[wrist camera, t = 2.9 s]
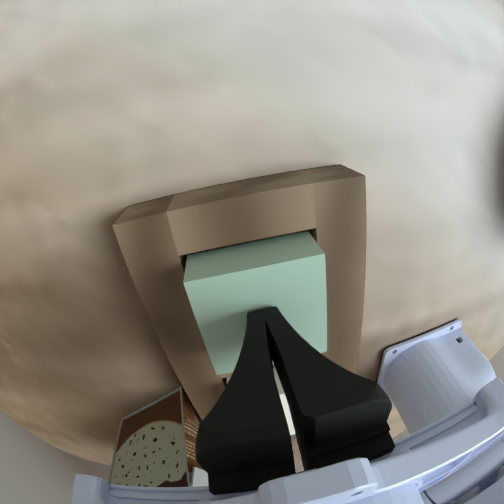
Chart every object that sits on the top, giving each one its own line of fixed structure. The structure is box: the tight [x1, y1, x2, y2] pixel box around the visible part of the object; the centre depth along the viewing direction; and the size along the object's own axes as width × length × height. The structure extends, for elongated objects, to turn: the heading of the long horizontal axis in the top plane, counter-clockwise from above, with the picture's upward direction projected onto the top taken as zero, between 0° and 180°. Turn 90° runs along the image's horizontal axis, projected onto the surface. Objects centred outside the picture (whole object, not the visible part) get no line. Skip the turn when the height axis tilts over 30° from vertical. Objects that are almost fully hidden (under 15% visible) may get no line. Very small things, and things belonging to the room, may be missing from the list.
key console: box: [112, 164, 366, 420], centre depth 19 cm, size 12×20×3 cm, turn 9°
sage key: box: [183, 231, 327, 375], centre depth 15 cm, size 6×6×2 cm
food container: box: [108, 386, 209, 487], centre depth 20 cm, size 12×6×10 cm, turn 128°
